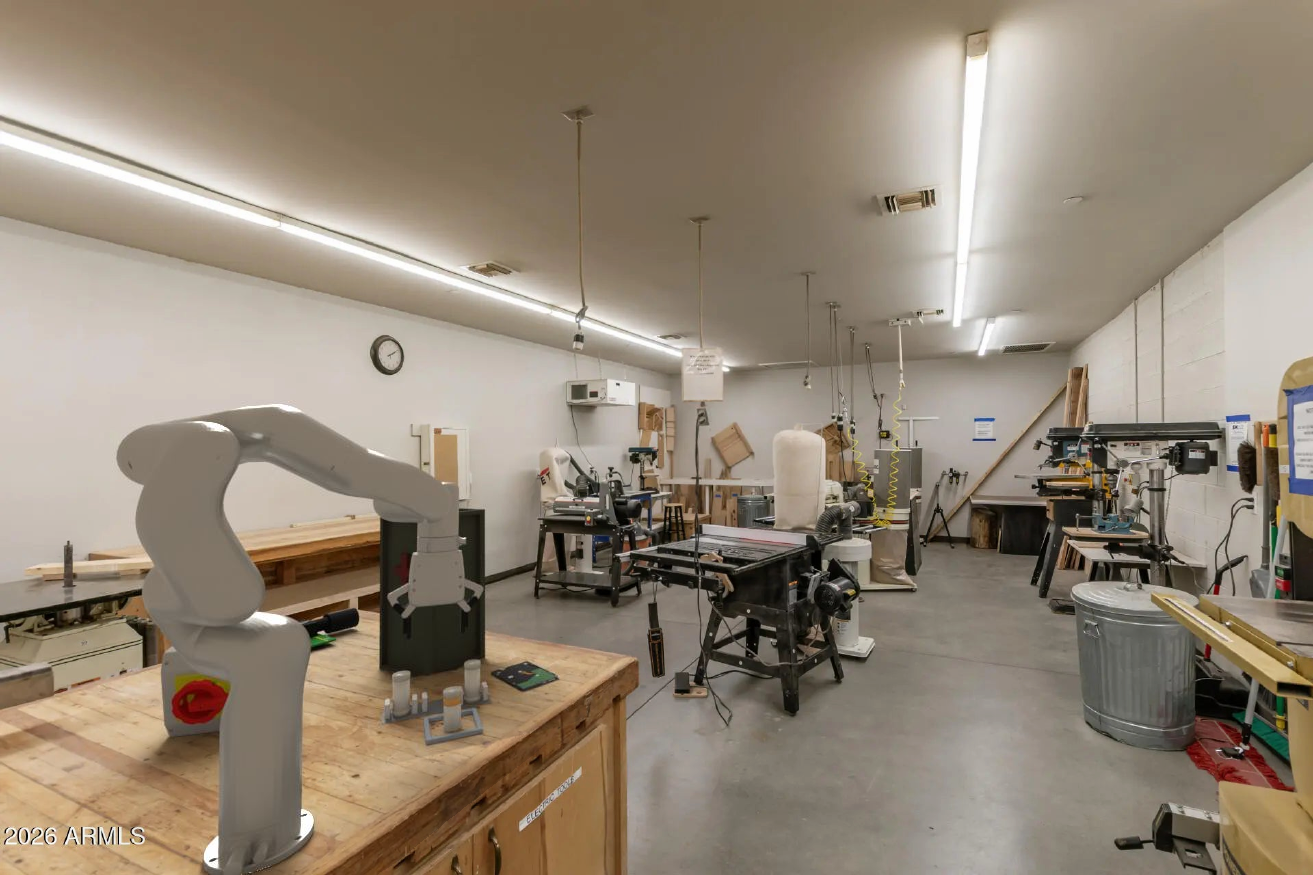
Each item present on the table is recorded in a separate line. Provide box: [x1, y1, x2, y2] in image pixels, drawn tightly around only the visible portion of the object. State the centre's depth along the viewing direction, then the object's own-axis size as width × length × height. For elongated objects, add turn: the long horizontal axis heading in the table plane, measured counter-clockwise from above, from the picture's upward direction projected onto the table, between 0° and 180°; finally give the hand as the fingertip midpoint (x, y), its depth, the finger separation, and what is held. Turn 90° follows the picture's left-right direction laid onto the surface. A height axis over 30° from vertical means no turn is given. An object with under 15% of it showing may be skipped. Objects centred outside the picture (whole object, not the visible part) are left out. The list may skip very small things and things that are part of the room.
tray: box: [423, 707, 484, 746], centre depth 108 cm, size 10×10×2 cm
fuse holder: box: [381, 681, 492, 725], centre depth 117 cm, size 7×21×4 cm, turn 115°
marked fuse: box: [442, 685, 463, 733], centre depth 108 cm, size 3×3×8 cm
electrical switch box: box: [160, 645, 231, 738], centre depth 111 cm, size 15×15×20 cm
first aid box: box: [378, 507, 486, 679], centre depth 147 cm, size 18×18×40 cm
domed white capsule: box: [391, 671, 411, 717], centre depth 114 cm, size 3×3×8 cm
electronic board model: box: [297, 607, 360, 648], centre depth 163 cm, size 30×7×15 cm
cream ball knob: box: [463, 660, 482, 703], centre depth 120 cm, size 3×3×8 cm
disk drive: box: [490, 660, 560, 692], centre depth 133 cm, size 10×3×15 cm
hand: (435, 634), depth 107 cm, fingers open, 9 cm apart
